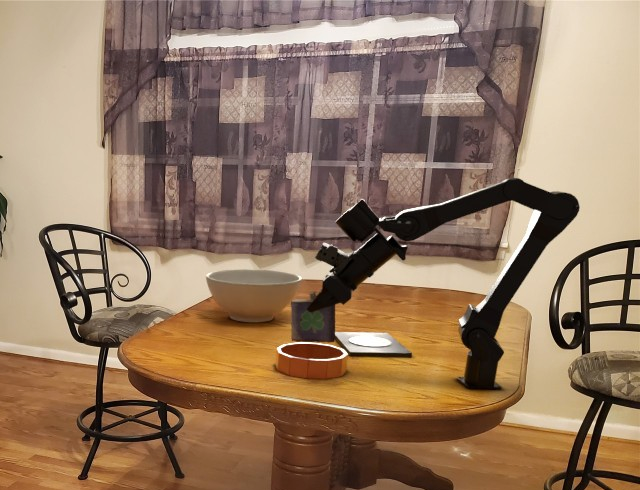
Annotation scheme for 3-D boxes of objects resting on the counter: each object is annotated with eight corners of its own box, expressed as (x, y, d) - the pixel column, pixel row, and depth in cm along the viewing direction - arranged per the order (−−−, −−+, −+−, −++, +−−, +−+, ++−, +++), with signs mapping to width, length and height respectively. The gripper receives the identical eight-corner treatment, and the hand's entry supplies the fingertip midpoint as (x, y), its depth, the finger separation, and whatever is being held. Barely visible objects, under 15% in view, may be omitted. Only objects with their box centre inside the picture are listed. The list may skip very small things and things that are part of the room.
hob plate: (411, 357, 158) (412, 352, 158) (349, 356, 159) (350, 351, 159) (387, 336, 177) (387, 332, 177) (332, 335, 178) (332, 331, 178)
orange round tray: (352, 379, 142) (354, 360, 141) (281, 378, 143) (282, 359, 142) (337, 360, 156) (338, 343, 155) (272, 358, 157) (273, 342, 156)
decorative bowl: (234, 304, 217) (236, 266, 213) (314, 316, 200) (317, 275, 197) (186, 319, 197) (187, 277, 193) (270, 333, 181) (273, 287, 177)
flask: (290, 341, 149) (289, 293, 145) (293, 338, 151) (292, 290, 148) (334, 343, 145) (334, 293, 142) (336, 339, 147) (337, 290, 144)
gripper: (344, 225, 148) (289, 275, 155) (338, 234, 131) (276, 288, 138) (379, 264, 147) (322, 311, 154) (377, 277, 131) (314, 329, 138)
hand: (309, 309), depth 146 cm, fingers closed on flask, 3 cm apart
